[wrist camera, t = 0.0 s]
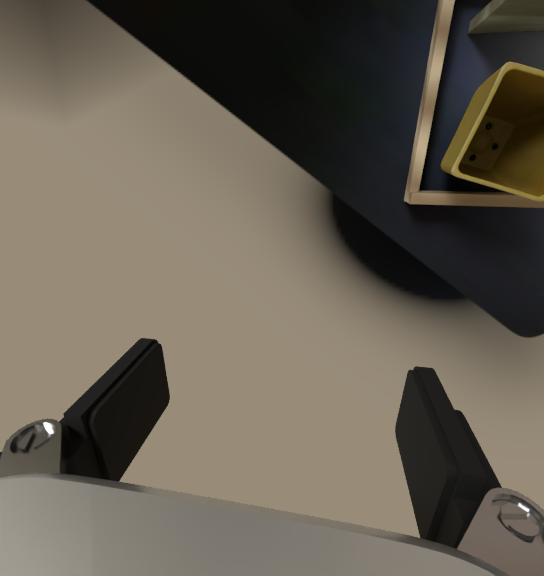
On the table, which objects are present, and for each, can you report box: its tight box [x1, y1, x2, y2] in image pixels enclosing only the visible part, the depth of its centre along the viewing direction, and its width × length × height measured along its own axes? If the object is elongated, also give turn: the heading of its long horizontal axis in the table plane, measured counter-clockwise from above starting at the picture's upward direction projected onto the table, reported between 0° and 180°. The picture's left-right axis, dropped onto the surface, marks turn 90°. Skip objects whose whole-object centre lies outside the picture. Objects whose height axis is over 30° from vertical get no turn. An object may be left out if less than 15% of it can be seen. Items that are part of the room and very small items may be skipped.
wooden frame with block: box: [404, 0, 544, 208], centre depth 28 cm, size 20×14×8 cm
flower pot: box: [441, 62, 544, 202], centre depth 29 cm, size 9×9×9 cm
